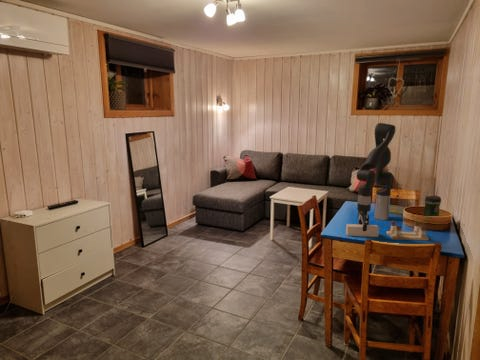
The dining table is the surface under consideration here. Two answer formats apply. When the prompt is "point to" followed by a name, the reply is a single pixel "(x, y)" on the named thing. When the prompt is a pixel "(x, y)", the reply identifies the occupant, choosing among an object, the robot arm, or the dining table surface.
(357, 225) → the beige long block
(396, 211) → the decorative tile
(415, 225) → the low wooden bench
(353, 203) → the dining table surface
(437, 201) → the coffee jar
